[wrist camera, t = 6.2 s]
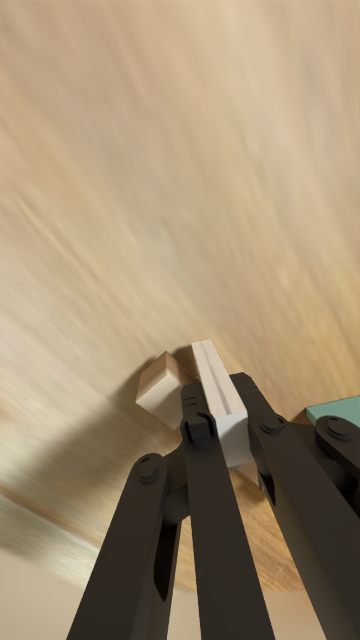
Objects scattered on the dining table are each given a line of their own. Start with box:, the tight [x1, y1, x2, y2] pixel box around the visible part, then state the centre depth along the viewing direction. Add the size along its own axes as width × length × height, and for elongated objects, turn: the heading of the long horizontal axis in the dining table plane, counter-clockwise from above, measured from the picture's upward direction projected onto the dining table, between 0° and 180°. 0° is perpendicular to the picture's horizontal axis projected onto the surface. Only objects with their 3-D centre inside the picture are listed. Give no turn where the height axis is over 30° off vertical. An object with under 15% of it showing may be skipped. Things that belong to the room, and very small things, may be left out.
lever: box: [136, 351, 264, 490], centre depth 15 cm, size 20×2×4 cm, turn 43°
